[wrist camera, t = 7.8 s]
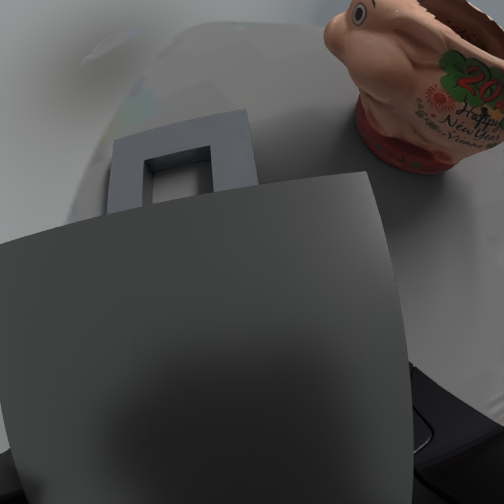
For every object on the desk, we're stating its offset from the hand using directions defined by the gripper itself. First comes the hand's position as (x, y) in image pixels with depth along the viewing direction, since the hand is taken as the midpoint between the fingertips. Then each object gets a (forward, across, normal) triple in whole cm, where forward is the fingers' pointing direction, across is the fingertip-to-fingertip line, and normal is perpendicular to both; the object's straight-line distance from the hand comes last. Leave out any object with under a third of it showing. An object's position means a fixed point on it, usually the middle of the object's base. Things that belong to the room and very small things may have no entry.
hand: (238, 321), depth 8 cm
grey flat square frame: (+17, +5, +1) cm, 18 cm away
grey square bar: (+4, 0, +6) cm, 7 cm away
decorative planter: (+19, -17, -1) cm, 25 cm away
